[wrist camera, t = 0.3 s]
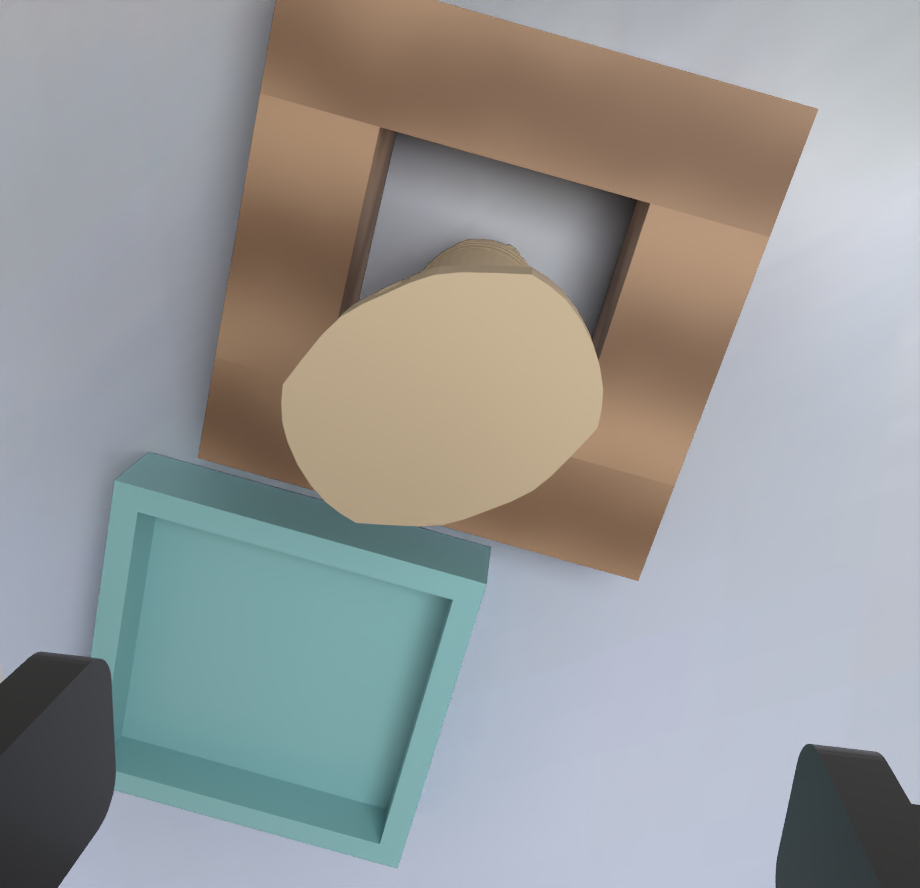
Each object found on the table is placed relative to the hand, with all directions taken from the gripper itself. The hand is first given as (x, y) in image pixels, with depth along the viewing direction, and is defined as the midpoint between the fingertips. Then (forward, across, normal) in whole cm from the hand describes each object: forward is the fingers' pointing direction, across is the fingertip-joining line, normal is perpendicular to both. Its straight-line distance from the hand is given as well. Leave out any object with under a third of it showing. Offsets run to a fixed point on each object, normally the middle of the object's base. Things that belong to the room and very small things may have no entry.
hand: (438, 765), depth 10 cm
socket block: (+23, +1, -3) cm, 23 cm away
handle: (+23, +1, -3) cm, 24 cm away
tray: (+24, +8, +13) cm, 28 cm away
